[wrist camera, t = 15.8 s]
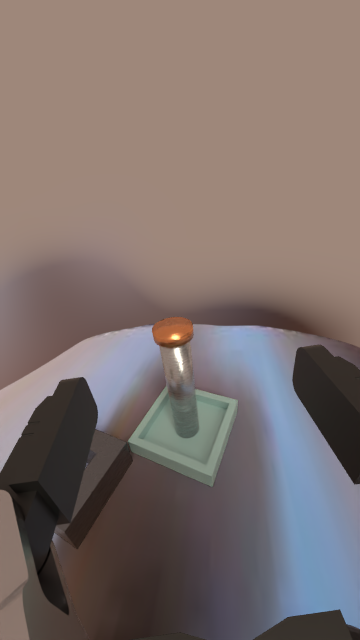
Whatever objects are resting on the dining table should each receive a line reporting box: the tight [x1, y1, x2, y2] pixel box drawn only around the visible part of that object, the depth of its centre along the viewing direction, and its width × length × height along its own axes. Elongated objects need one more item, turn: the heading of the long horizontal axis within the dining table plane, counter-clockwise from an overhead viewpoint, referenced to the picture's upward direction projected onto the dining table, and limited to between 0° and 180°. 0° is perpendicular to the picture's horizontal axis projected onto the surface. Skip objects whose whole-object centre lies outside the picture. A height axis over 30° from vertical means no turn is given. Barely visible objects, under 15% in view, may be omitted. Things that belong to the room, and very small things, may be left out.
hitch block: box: [54, 429, 133, 549], centre depth 30 cm, size 10×10×4 cm
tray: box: [128, 385, 238, 487], centre depth 36 cm, size 12×12×2 cm
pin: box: [152, 317, 199, 438], centre depth 32 cm, size 5×5×17 cm
